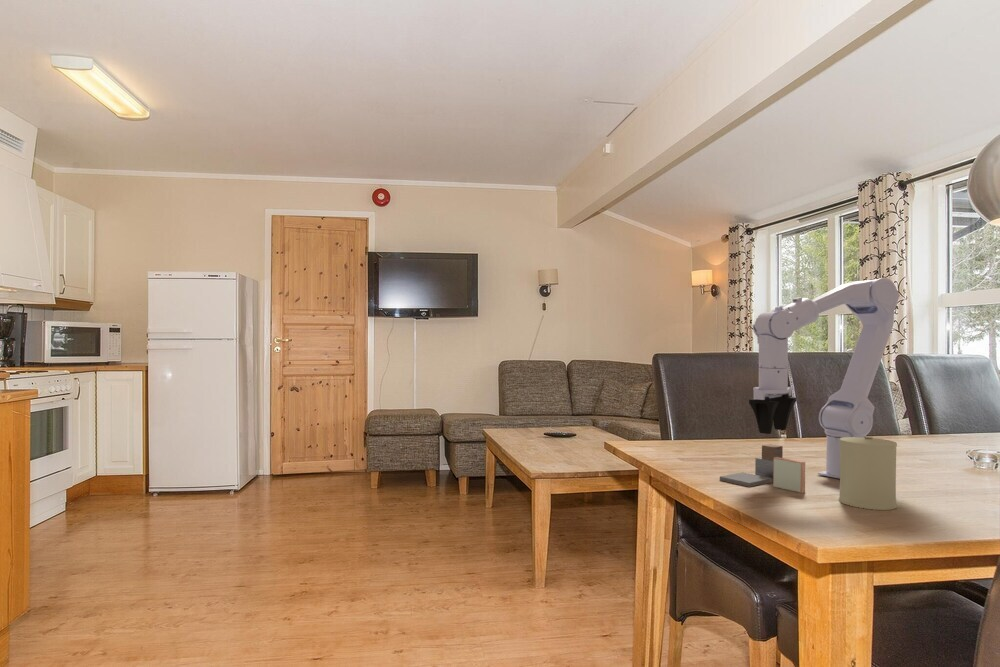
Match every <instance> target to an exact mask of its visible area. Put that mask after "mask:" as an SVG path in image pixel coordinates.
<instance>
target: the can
mask: <svg viewBox="0 0 1000 667" xmlns="http://www.w3.org/2000/svg"><path fill="white" fill-rule="evenodd" d="M897 446H898V444H897V442H895V441H893V440H890V439H889V440H888V439H883V438H877V437H876V438H874V437H872V436H866V437H843V438H840V479H839V496H838V501H839V502H840V503H841V502H842V504H844V505H846V506H849V505H850V506H849V507H853V508H858V507H859V509H863V508H864V509H865V510H871V509H873V511H891V510H895V509H897V507H898V505H897V495H896V494H897V493H896V492H897V484H896V482H897V480H896V478H897V477H896V476H897Z"/></svg>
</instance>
